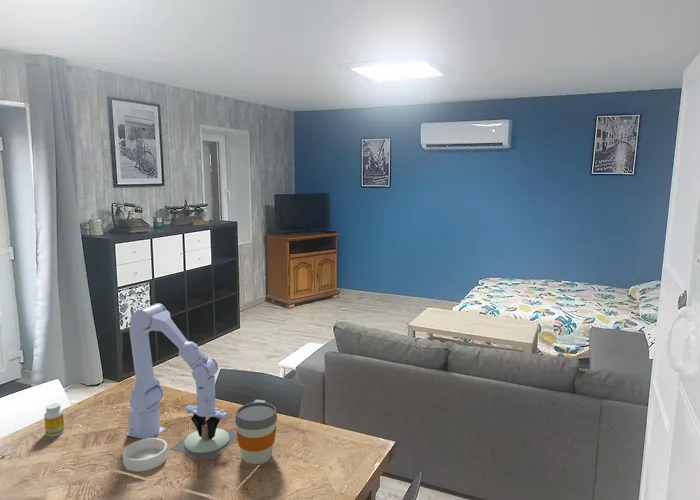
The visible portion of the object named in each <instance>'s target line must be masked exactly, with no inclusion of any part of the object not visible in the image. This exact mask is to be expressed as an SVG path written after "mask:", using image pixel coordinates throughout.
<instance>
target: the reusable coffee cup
mask: <svg viewBox="0 0 700 500" xmlns="http://www.w3.org/2000/svg"><path fill="white" fill-rule="evenodd" d="M253 402H254V401H253ZM253 402H250V403H246V404H244V405H242V406H240V407H239V408H238V409H237V410H236V413H235V419H234V420H235V421H234V422H235V425H236V427H237V428H236V432H235V433H237V442H238V443H237V444H238V446H239V448H240V454H241V459H242V460H243V461H244V462H245V463H248V464H255V465H256V464H258V465H260V466H261V465H263V464H266V463H267V462H269V461H270V460H271V459H272V454H273V448H274V447H273V445H274V444H275V441H276V440H275V439H276V432H277V425H276V422H277V421H278V414H277V408H276V407H275V405H273V404H271V403H270V402H266V403H264V402H254V403H253Z"/></svg>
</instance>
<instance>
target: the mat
mask: <svg viewBox="0 0 700 500" xmlns="http://www.w3.org/2000/svg"><path fill="white" fill-rule="evenodd" d="M195 431H197V428H196V429H195V430H193V431H192V432H191V433H193V432H195ZM225 431H226V432H228V434H229V442H228V443H227V445H226V446H224V447H223V448H221V449H219V450H217V451H214V452H210V453H193V452H190V451H188V450H187V449H186V448H185V446H184V441H185V439H186V437H187V436H185V437H184V438H183V439H181V440H180V441H178V442H177V443H175V445H174V446H172V447H171V448H170V451H171V450H172V451H175V452H180V453H183V454H188V455H191V456H195V457H199V458H204V459H208V460H212V461H213V460H215V459H216V458H217V457H218V456H219V455H220V454H222V452H224V451H225V450H227V448H228V447H229V446H230V445H232V443H234V442H235V441H236V440H238V438H237V432H234V431H229V430H226V429H225ZM191 433H189V434H188V435H190V434H191Z"/></svg>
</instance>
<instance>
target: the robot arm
mask: <svg viewBox="0 0 700 500" xmlns="http://www.w3.org/2000/svg"><path fill="white" fill-rule="evenodd" d="M130 322H131V324H130V326H129V338H130V345H131V353H132V360H133V362H132V363H133V368H134V373H135V383H134V384H133V387H132V389H131V391H130V395H131V397H130V399H129V405H130V408H131V409H129V412H128V415H127V418H128V419H127V420H128V421H127V422H128V433H126V436H128V437H131V438H136V439H139V438H140V439H146V438H155V437H156V436H157V435H158V434H160V433H162V432H163V431H165V430H166V427H163V426H161V423H160V422H161V420H160V405H161V400H162V399H163V398H164V390H163V388H162V387H161V384H160V380H159V379H157V378H155V374H154V366H153V359H152V351H151V344H150V336H149V333H150V332H152V331H153V332H162V334H164V336H165V337H167V338H168V339H169V340H170V341H171V342H172V343H173V344H174V345H175V346H176V347H177V348H178V355H179V356H180V357H181V359H183V361H184V362H185V363H186V364H187V366H188V367H189V368H190V369H191V370H192V372H191V375H192V378H193V379H194V381H195V385H196V386H195V388H196V390H195V392H196V405H195V404H194V405H192V404H189V405H187V406H185V413H186V414H190V413H191V414H193V416H192V417H191V418H190V419H191V420H190V421H192V423H193V425H194V426H195V428H196V429H197V431H198V434H199V437H202V424H203V423H205V422H206V424H207V427H208V435H209V439H212V438H214V437H215V432H216V428H218V425H219V423H220V421H223V422H224V421H226V420H227V419H228V411H227V412H226V411H223V410H221V409H220V408H217V404H216V377H215V374H217V372H218V371H219V365H218V362H216V359H215V358H212V357H210V356H208V355H205V354H204V352H203V351H202V350H201V349H200V348H199V344H197V343H195V342H194V341H189V340H187V338H186V337H185V335H184V334H183V333H182V331H181V330H180V329H179V328H178V326H177V325H176V323H175V322H174V321H173V320H172V318H171V312H170V311H169V310H167V308H166V307H165V305H163V304H162V303H154V304H152V305H150V306H146V307H144V308H140V309H138V310H136V311H134V313H133V314H132V315H130Z"/></svg>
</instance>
